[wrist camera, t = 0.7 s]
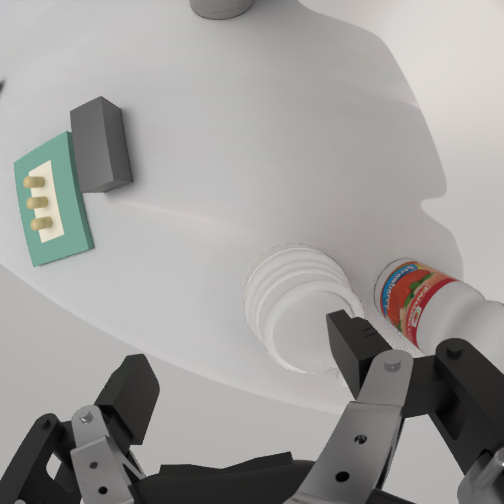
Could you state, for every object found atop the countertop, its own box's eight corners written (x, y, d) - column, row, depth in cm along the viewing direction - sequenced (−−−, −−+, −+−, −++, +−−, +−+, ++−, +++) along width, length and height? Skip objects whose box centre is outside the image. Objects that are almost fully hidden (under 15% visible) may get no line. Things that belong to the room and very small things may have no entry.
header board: (19, 163, 31) (-1, 162, 26) (72, 132, 31) (52, 126, 26) (39, 265, 34) (20, 273, 29) (93, 247, 34) (75, 254, 29)
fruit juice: (409, 321, 38) (527, 426, 11) (363, 312, 37) (487, 448, 10) (430, 265, 37) (575, 338, 9) (385, 250, 36) (555, 335, 8)
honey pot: (353, 263, 36) (432, 316, 18) (313, 344, 38) (354, 433, 21) (265, 227, 35) (291, 262, 17) (229, 317, 37) (221, 410, 19)
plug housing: (92, 121, 30) (70, 111, 25) (120, 108, 30) (101, 96, 25) (103, 192, 33) (80, 192, 27) (133, 182, 33) (113, 180, 27)
